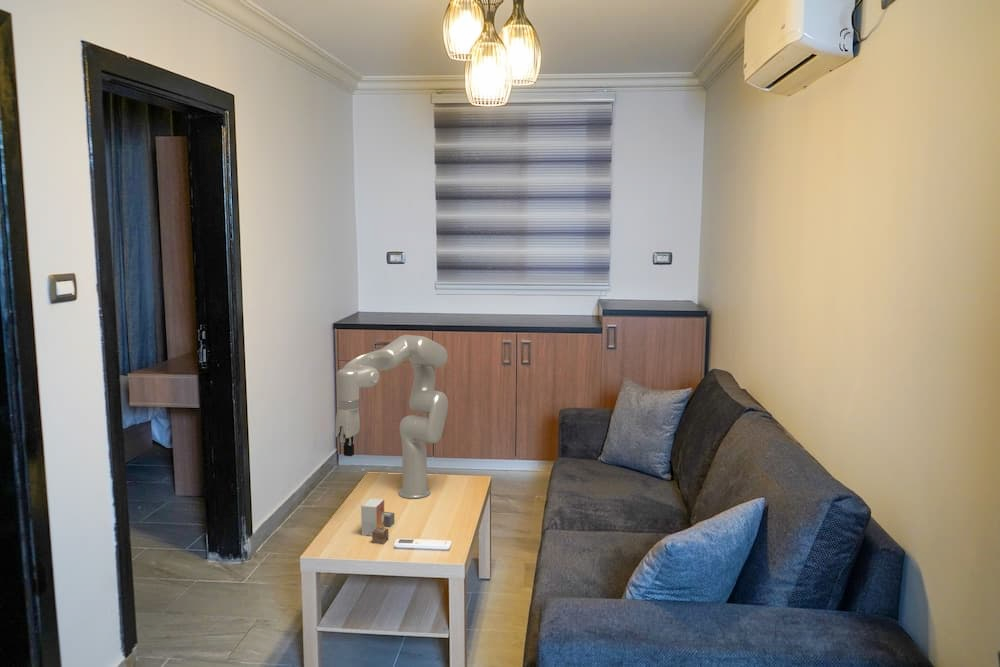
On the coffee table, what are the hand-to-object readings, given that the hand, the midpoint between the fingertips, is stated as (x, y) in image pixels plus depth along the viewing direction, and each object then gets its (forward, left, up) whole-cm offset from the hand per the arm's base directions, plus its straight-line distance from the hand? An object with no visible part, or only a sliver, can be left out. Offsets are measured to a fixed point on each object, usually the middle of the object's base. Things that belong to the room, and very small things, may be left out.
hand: (348, 455), depth 262 cm
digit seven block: (+11, +17, -25) cm, 32 cm away
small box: (+4, +11, -25) cm, 28 cm away
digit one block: (-3, +13, -25) cm, 28 cm away
